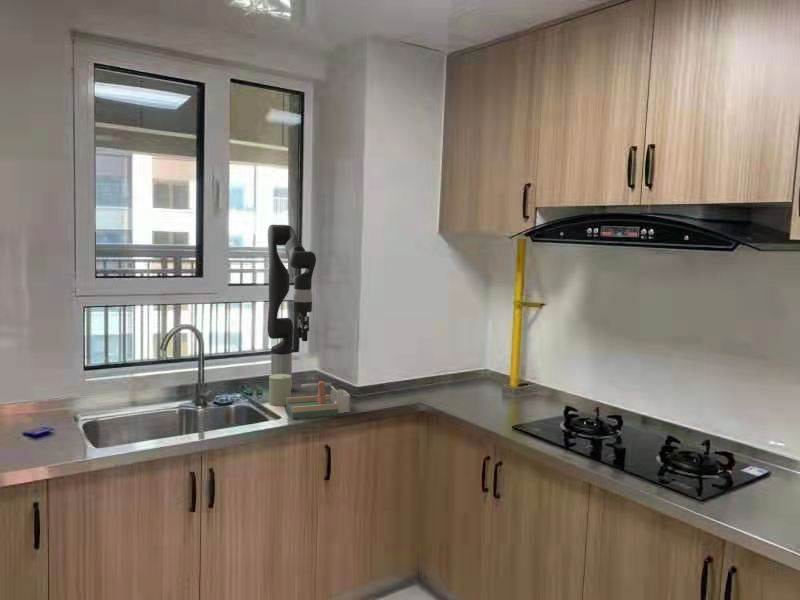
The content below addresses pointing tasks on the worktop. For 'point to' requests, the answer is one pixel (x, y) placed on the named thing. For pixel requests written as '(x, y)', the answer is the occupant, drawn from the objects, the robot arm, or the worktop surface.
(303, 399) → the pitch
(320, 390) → the kicker
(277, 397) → the can
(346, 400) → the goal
